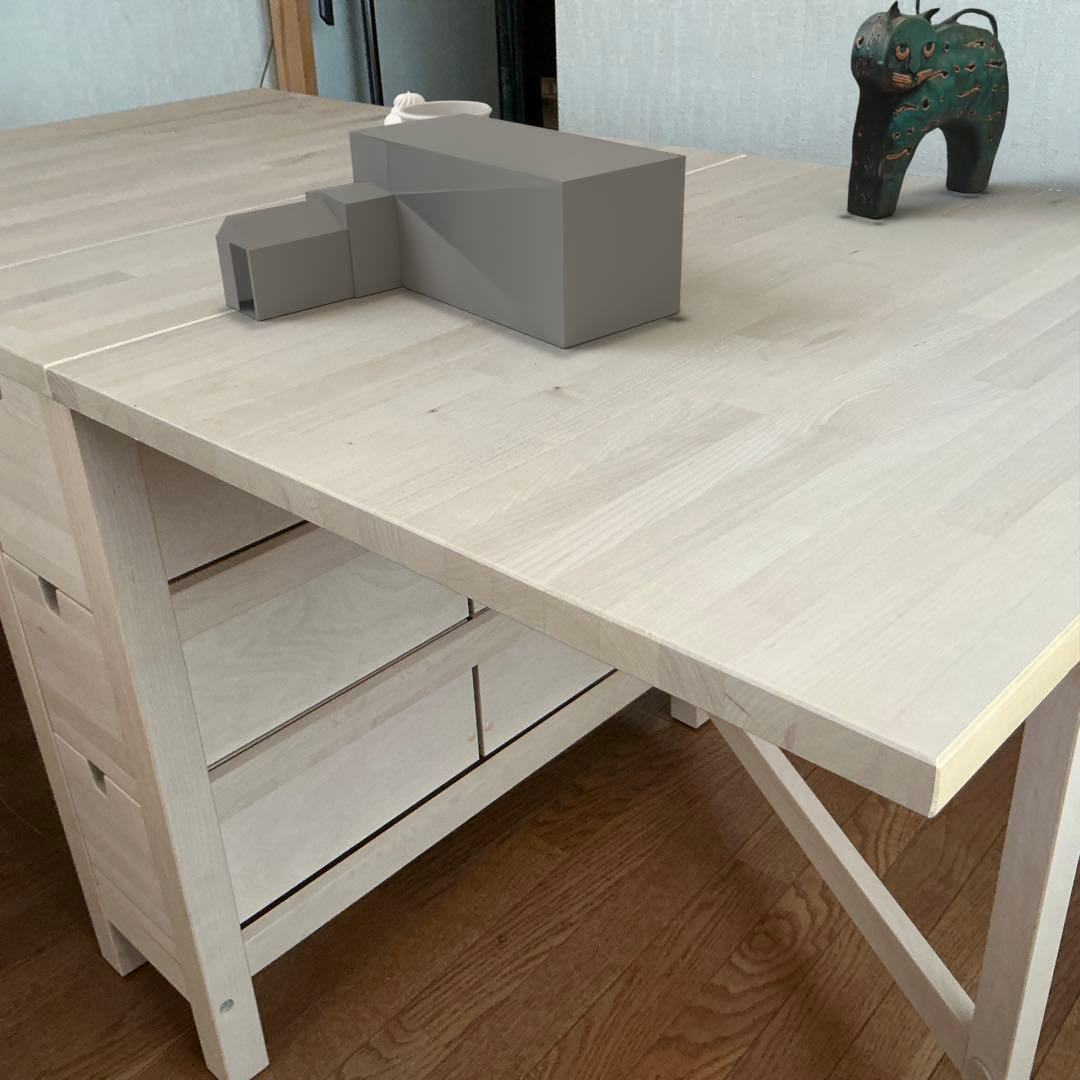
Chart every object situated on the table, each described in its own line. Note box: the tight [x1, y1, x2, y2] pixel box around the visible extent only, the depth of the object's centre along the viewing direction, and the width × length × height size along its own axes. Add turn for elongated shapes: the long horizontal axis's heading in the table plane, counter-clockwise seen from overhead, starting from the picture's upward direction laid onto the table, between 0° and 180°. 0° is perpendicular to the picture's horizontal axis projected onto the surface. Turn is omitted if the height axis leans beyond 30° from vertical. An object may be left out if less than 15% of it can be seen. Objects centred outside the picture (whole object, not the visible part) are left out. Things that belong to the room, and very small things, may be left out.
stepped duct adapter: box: [215, 113, 687, 349], centre depth 83 cm, size 25×23×11 cm
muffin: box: [383, 90, 426, 126], centre depth 133 cm, size 6×6×7 cm
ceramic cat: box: [846, 0, 1010, 220], centre depth 105 cm, size 20×6×20 cm, turn 126°
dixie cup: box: [398, 100, 493, 123], centre depth 105 cm, size 8×8×10 cm
